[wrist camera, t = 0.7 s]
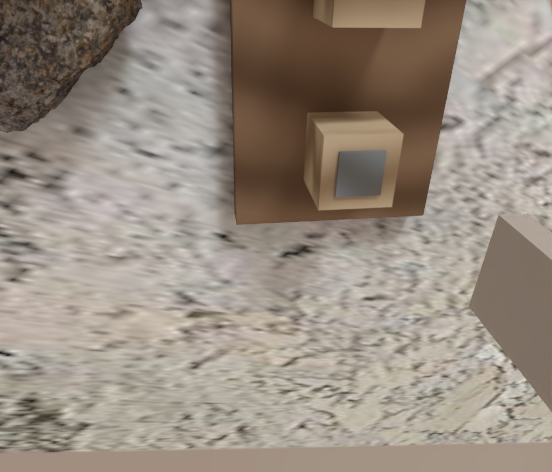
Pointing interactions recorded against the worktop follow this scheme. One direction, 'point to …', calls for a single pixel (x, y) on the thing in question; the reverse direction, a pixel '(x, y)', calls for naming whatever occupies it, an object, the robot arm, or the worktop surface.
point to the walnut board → (332, 100)
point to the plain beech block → (369, 13)
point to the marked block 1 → (351, 159)
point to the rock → (52, 51)
